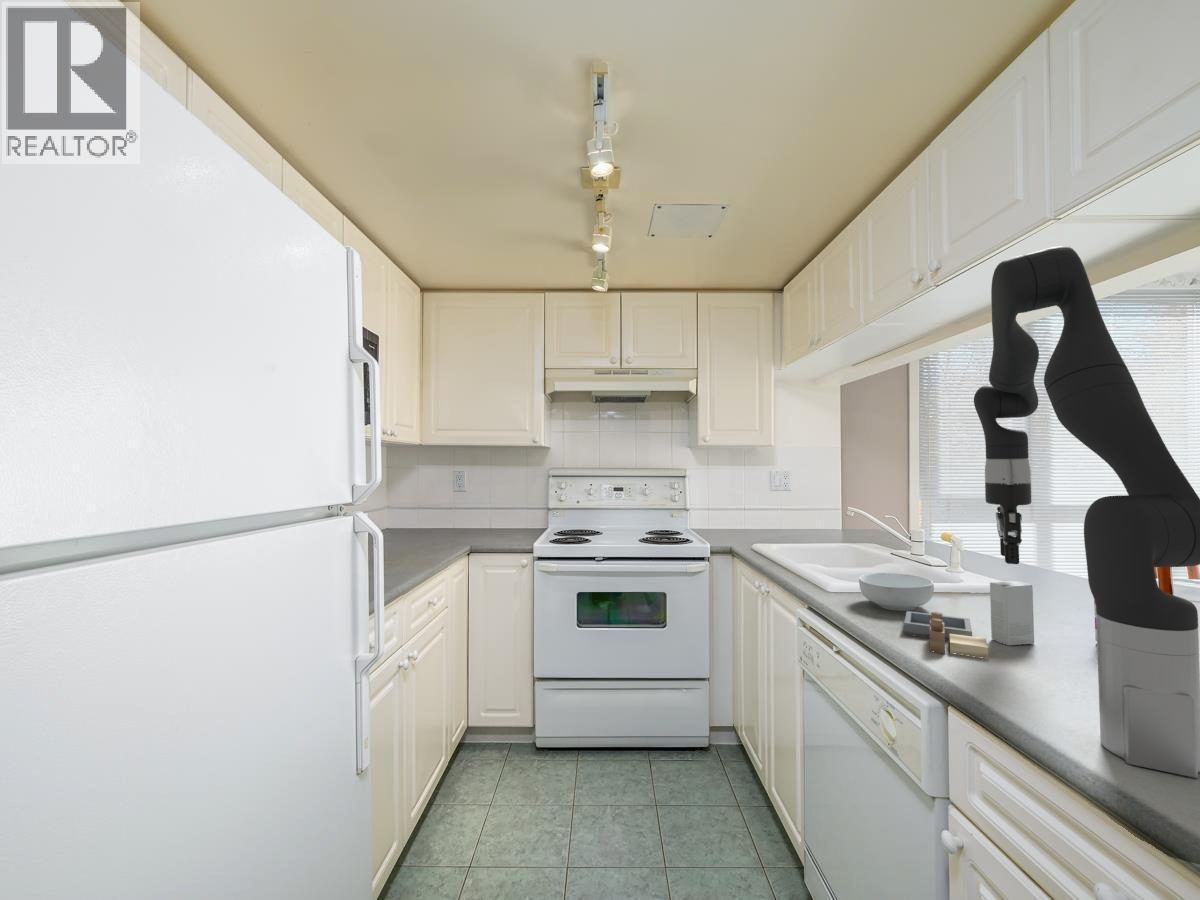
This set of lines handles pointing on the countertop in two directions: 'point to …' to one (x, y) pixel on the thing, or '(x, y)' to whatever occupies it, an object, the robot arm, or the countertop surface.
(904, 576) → the cereal bowl
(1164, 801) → the countertop surface
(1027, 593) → the skincare box
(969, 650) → the tan block
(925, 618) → the tray
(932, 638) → the stop bar
